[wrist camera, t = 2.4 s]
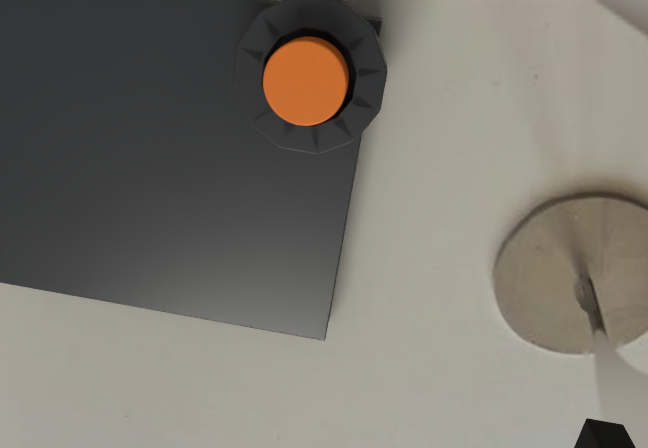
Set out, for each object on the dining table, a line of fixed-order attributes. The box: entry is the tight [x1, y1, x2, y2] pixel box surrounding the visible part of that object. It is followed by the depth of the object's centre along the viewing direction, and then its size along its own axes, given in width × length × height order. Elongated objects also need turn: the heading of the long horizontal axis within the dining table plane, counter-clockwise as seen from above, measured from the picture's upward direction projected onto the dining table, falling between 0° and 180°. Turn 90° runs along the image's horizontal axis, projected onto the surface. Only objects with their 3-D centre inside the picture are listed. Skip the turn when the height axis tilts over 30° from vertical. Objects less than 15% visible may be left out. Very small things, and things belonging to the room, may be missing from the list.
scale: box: [0, 0, 387, 340], centre depth 26 cm, size 19×16×4 cm
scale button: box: [263, 36, 349, 126], centre depth 22 cm, size 3×3×2 cm
